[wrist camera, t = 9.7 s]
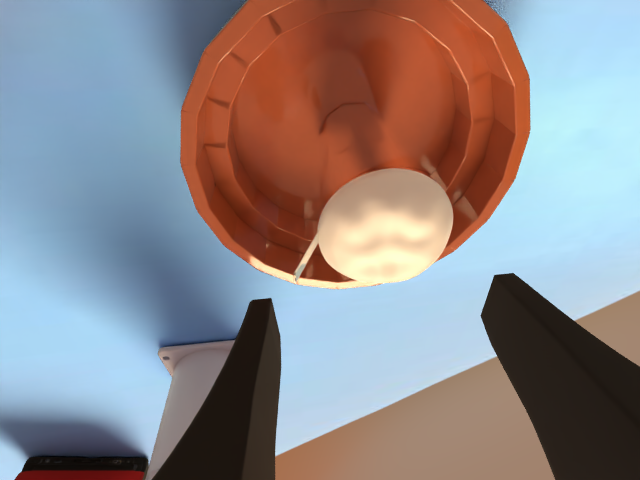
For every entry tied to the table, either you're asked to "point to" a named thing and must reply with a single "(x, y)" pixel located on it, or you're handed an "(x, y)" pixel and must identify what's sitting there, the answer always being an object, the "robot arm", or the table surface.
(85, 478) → the handheld console
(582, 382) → the robot arm
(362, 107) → the milkshake
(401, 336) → the table surface
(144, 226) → the table surface
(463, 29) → the bowl
